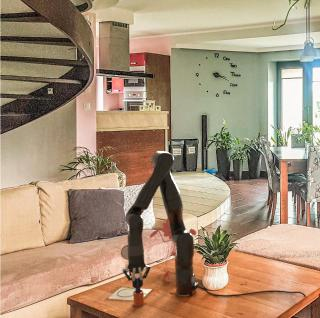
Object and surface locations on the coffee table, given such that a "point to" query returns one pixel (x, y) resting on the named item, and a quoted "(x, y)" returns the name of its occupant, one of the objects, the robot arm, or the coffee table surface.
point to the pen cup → (138, 298)
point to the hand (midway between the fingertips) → (137, 287)
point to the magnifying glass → (125, 255)
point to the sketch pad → (127, 293)
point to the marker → (137, 284)
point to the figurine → (167, 232)
